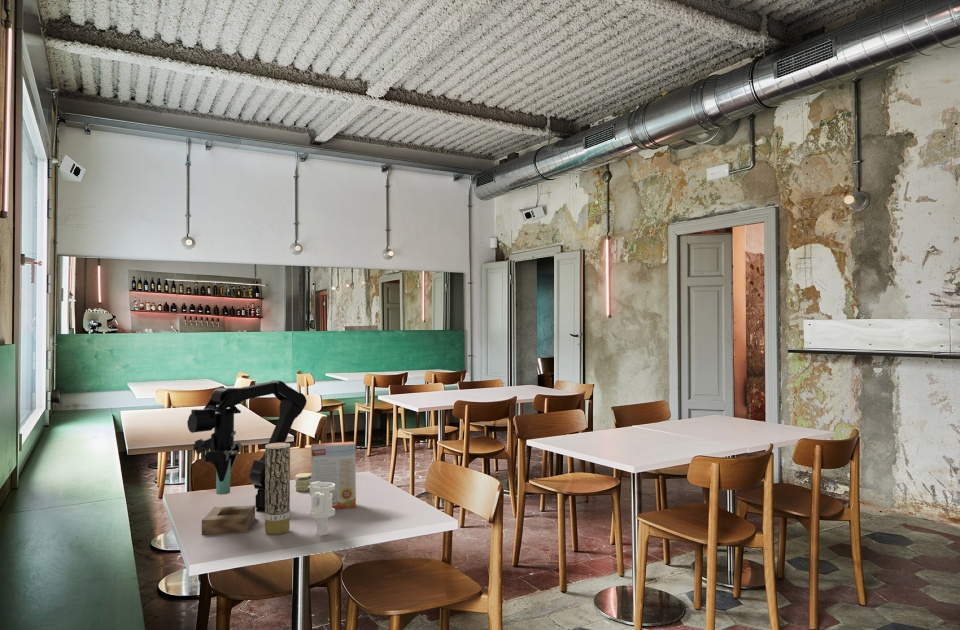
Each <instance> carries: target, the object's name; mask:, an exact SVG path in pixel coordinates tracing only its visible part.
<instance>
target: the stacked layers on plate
mask: <svg viewBox="0 0 960 630" xmlns="http://www.w3.org/2000/svg"><path fill="white" fill-rule="evenodd" d="M294 478H296V479H295V480H294V482H295V485H294V487H295V492H306V491H307V490H309V487H310V483H311V472H305V473H303V472H302V473H301V472H300V473H297V474H296V475H295V476H294Z"/></svg>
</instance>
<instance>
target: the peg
mask: <svg viewBox="0 0 960 630" xmlns="http://www.w3.org/2000/svg"><path fill="white" fill-rule="evenodd" d="M215 473H216V478H215V479H216V480H215V481H216V484H215V489H216V490H215V494H216V495H221V496H222V495H228V494H230V493H231V471H230V464H229V467H228V470H227V473H226V476H225V478H224V481H222V482H220V481H219V478H218V474H217V471H216V472H215Z"/></svg>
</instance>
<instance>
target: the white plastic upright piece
mask: <svg viewBox="0 0 960 630" xmlns="http://www.w3.org/2000/svg"><path fill="white" fill-rule="evenodd" d="M322 486H328V487H324V488H320V487H322ZM334 489H335V484H334V483H330V482H320V481H316V482H312V483H310V486H309V496H312V500H311V509H309V517H310V518H313V519H315V518H316V536H326V535H328V534H329V531H328V530H329V528H328V527H329V524H328V523H329V520H328V519H329V518H330V517H332V516H335V515H336V509H334V508H332V493H329V491H331V490H334Z"/></svg>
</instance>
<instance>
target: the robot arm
mask: <svg viewBox="0 0 960 630" xmlns="http://www.w3.org/2000/svg"><path fill="white" fill-rule="evenodd" d="M268 395H273V396H274V397H275V399H276V400H278V401H280V402H279V406H278V407H279V408H278V409H279V410H278V411H279V417H278V419H277V421H276V424H275V426H274V429H273V431H272V434H271V436H270V438H269V441H268V443H267V444H271V443H286V440H287V438H288V435H289V433H290V431H291V428H292V426H293V424H294V421H295V420H296V419H297V418H298V417H299V416H300V415H301V414H302V412H303V411H304V409H305V407H306V405H307V401H308V400H307V398H306V396H305V395H304V394H303V393H302V392H298V391H297V390H296V389H294V388H292V387H291V386H288V384H286V383H285V382H283V381H282V380H271V381H267V382H263V383H257V384H252V385H247V386H243V387H242V386H241V387H218V388H215V389H214V390H213V392H212V394H211V397H210V399H209V400H208V402H207V403H206V405H205V406H204V407H203V408H202V409H197V408H196V409H195V408H194V409H191V412H190V414H189V416H188V420H186V421H187V422H186V423H187V429H188V431H189V432H190V433H194V434H195V433H201V432H209V431H210V432H211V431H212V430H213V433H212V434H211V435H210V437H209V438H206V439H204V440H203V438H200V439H198V440H195V441H194V444H193V448H192V449H193V451H195V453H196V455H199V454H202V452H206V451H207V453H205V454H204V455H203V456H204V457H203V458H204V460H203V461H204V463H211V464H212V465H214V467H215V470H216V471H217V474H218V478H219V481H220V482H222V481H224V478H225V476H226V473H227V470H228V467H229V464H230V472H231V471H232V468H233V466H234V464H235V462H236V459H237V457H238V456H239V453H240V452H241V451H242V450H243V447H242V446H243V445H242V444H241V443H240V442H239V441H235V437H234V436H235V435H236V433H237V432H236V431H237V430H235V415H236V414H241V413H242V411H241V410H240V409H239V408H238V407H237V405H240V404H241V403H243V402H244V401H247V400H250V399H255V398H260V397H264V396H268ZM208 450H209V451H208ZM235 451H236V452H237V453H234V452H235ZM248 472H249V477H248V478H249V480H250V483H251V484H253V487H254V489H255V490H257V492H256V494H255V512H261V511H262V512H265V452H264V453H263V455H262V457H261V458H260V459H259V460H257V459H254V460H253V463H252V466H251V468H250V469H249V471H248Z"/></svg>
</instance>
